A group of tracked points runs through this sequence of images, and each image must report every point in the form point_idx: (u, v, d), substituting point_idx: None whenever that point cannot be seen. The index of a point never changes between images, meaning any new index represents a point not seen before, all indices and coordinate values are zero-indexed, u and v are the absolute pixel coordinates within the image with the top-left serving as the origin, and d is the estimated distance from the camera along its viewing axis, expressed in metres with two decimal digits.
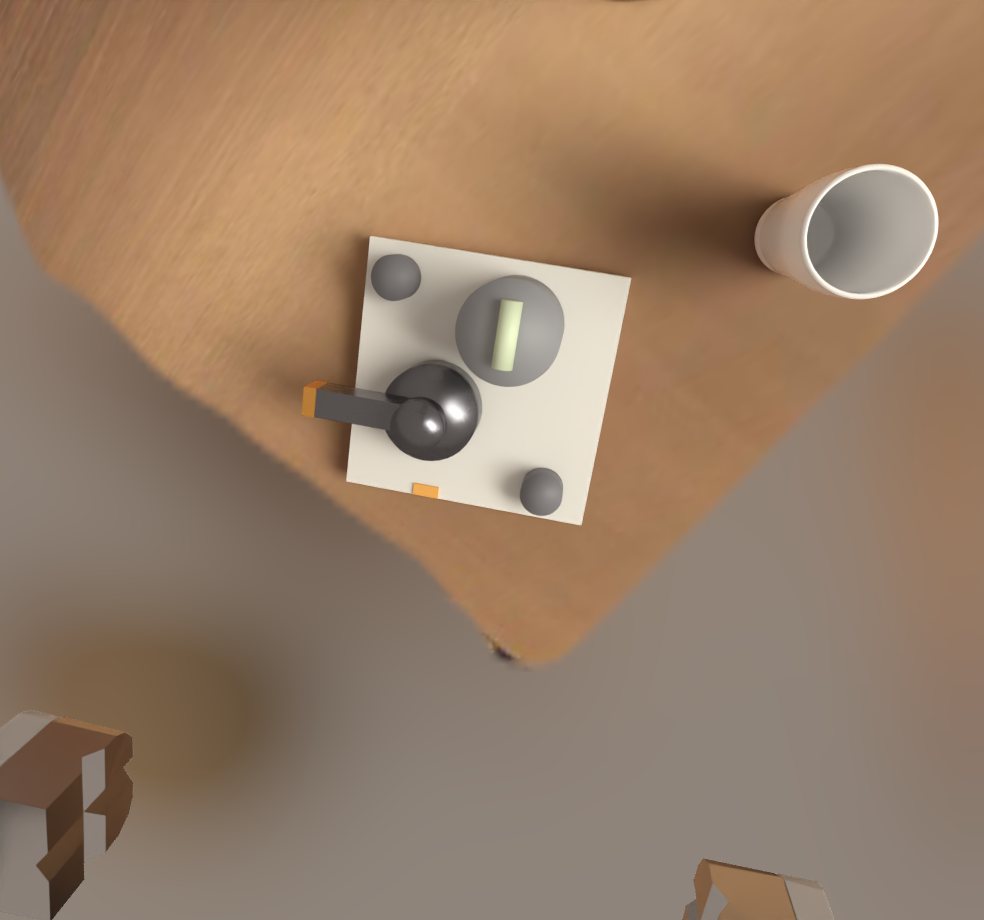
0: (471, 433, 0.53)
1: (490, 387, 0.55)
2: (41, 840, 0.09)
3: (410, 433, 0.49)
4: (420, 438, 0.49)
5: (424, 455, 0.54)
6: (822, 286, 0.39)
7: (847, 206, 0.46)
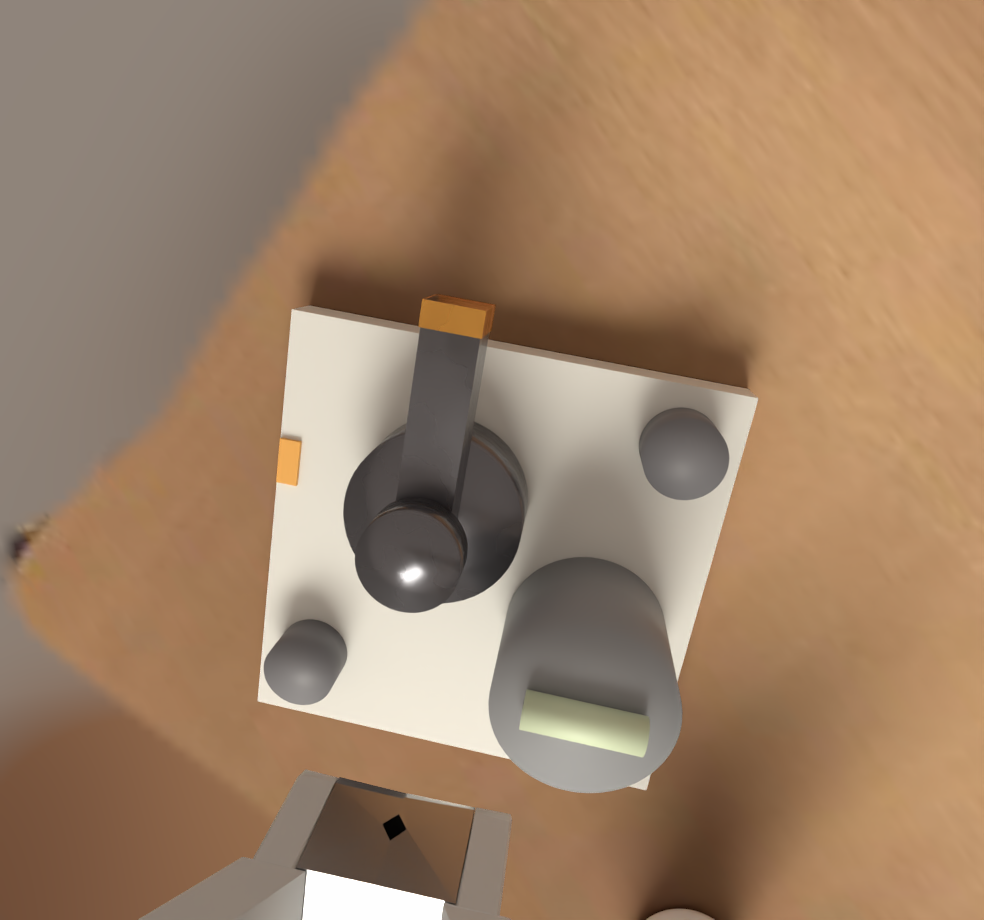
0: None
1: None
2: (364, 915, 0.09)
3: (395, 552, 0.24)
4: (385, 569, 0.25)
5: (353, 507, 0.29)
6: None
7: None
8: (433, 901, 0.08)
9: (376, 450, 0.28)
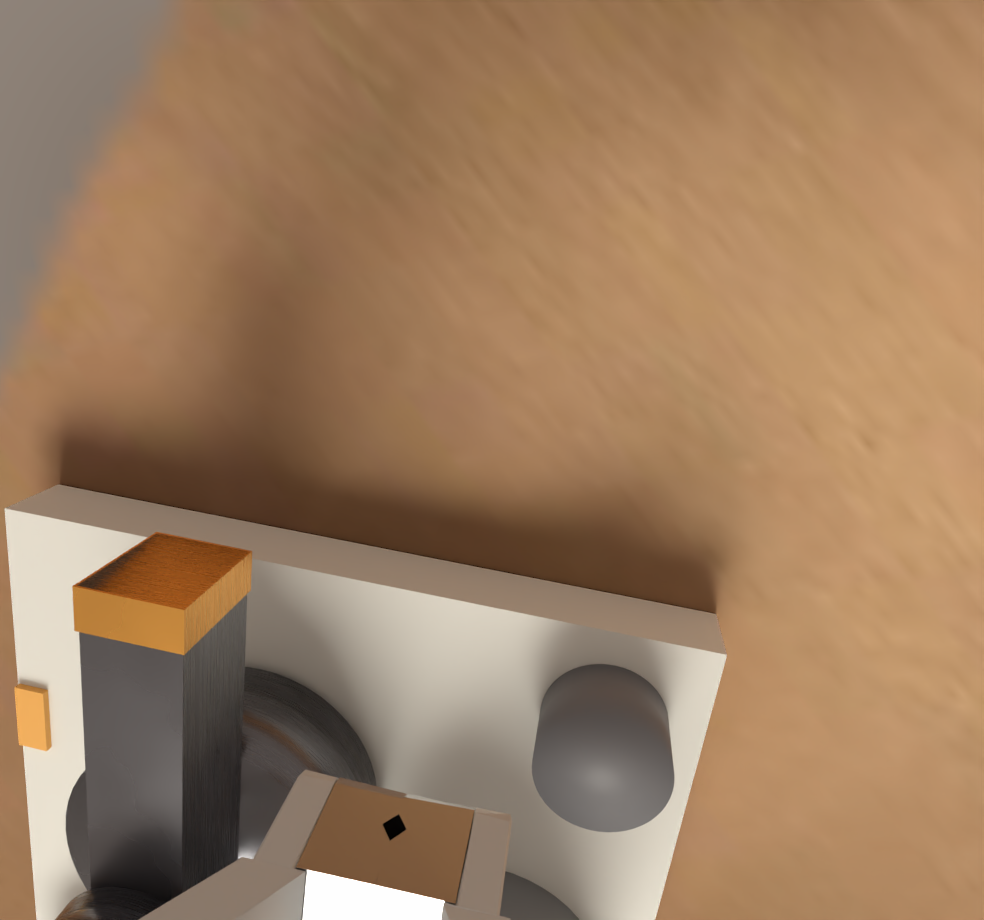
0: None
1: None
2: (364, 915, 0.09)
3: None
4: None
5: (80, 836, 0.18)
6: None
7: None
8: (433, 901, 0.08)
9: None
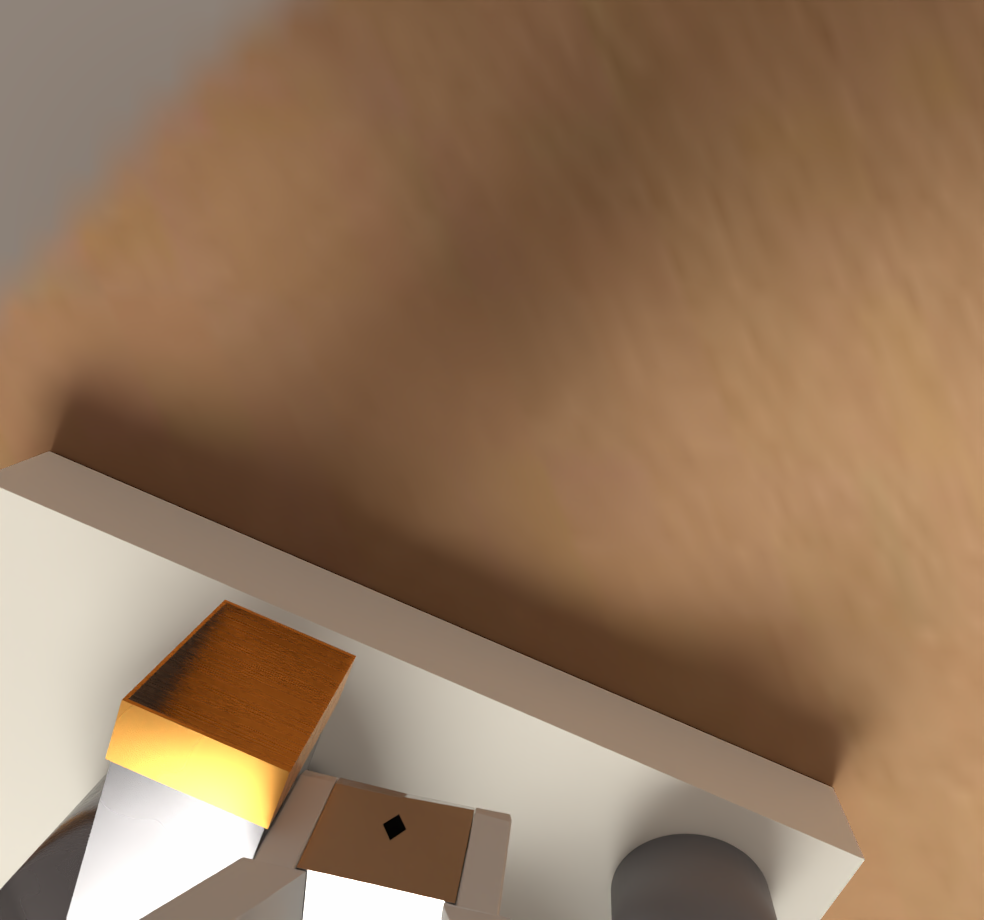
0: None
1: None
2: (365, 915, 0.09)
3: None
4: None
5: None
6: None
7: None
8: (433, 901, 0.08)
9: (55, 859, 0.13)
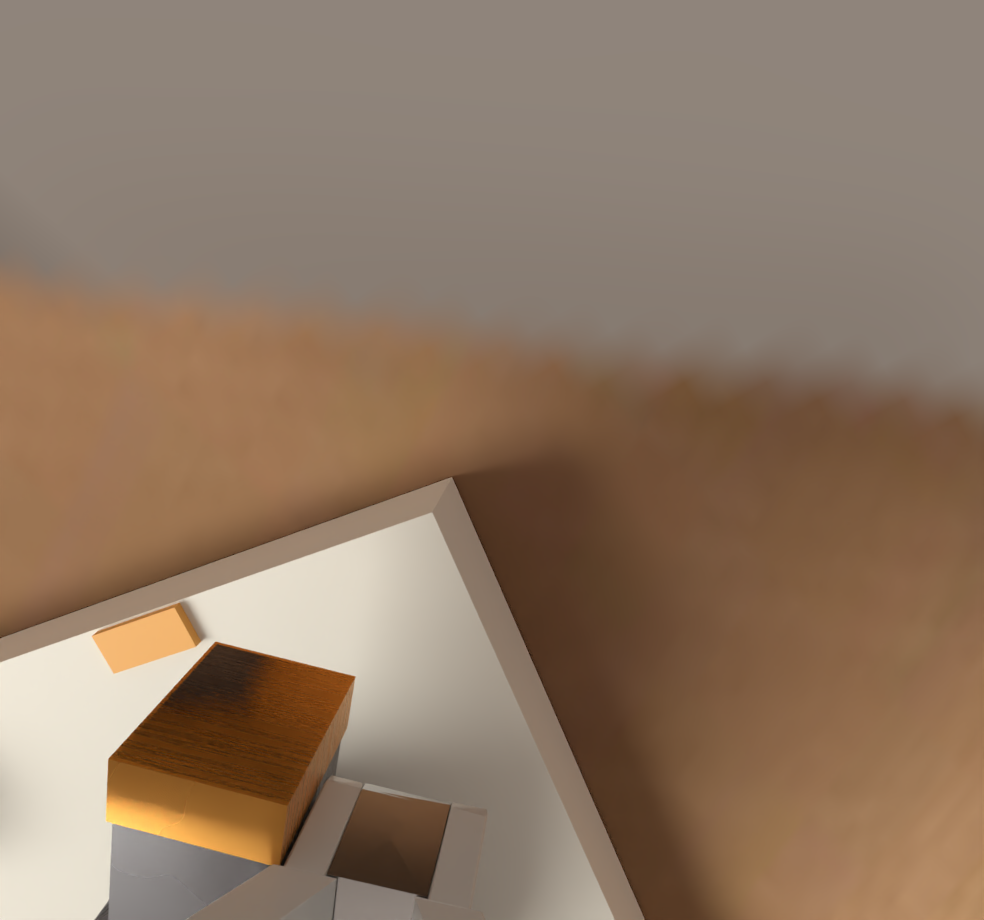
0: None
1: None
2: None
3: None
4: None
5: None
6: None
7: None
8: (405, 895, 0.08)
9: None
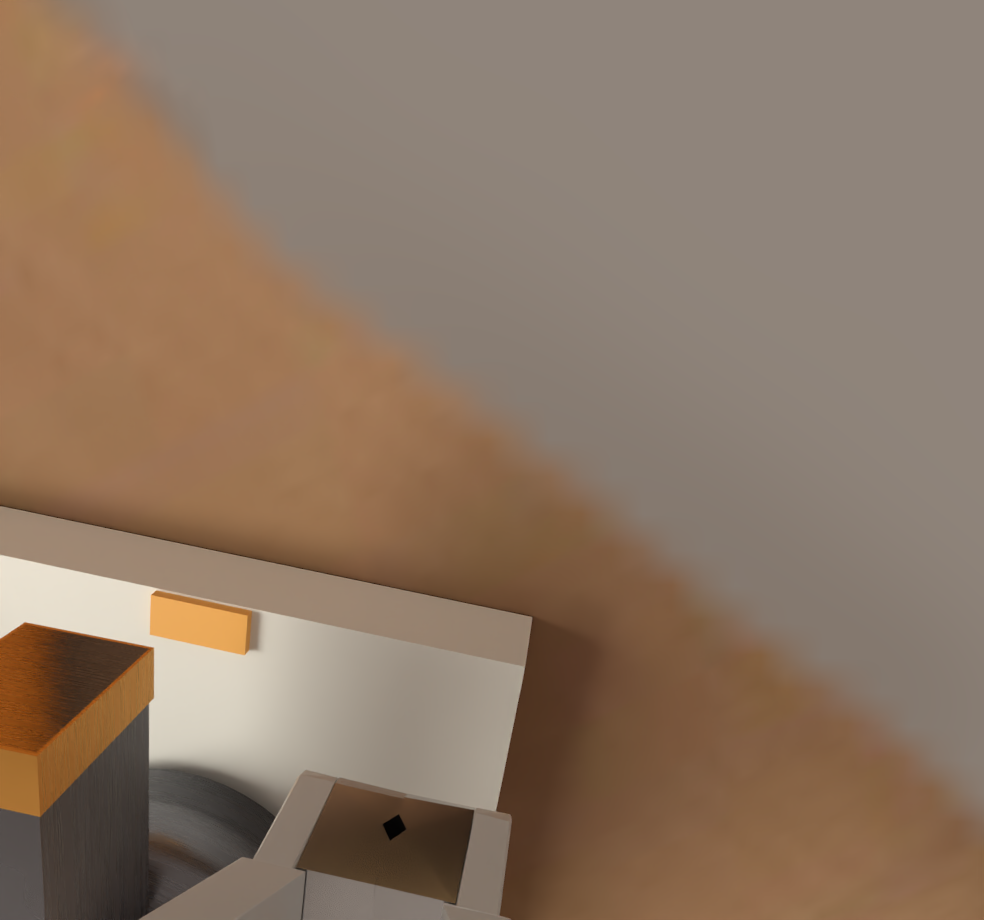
0: None
1: None
2: (364, 915, 0.09)
3: None
4: None
5: None
6: None
7: None
8: (433, 901, 0.08)
9: None
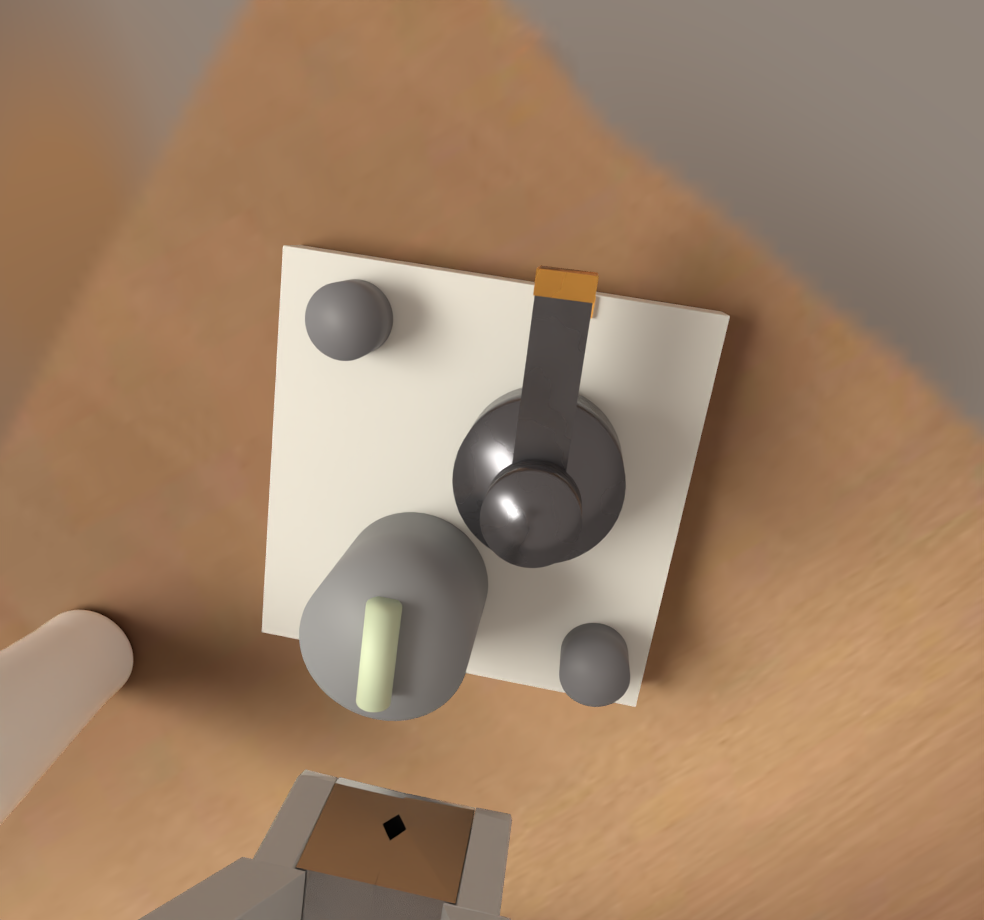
0: None
1: (452, 488, 0.34)
2: (364, 915, 0.09)
3: (518, 510, 0.26)
4: (509, 527, 0.26)
5: (462, 475, 0.30)
6: None
7: None
8: (433, 901, 0.08)
9: (484, 419, 0.29)
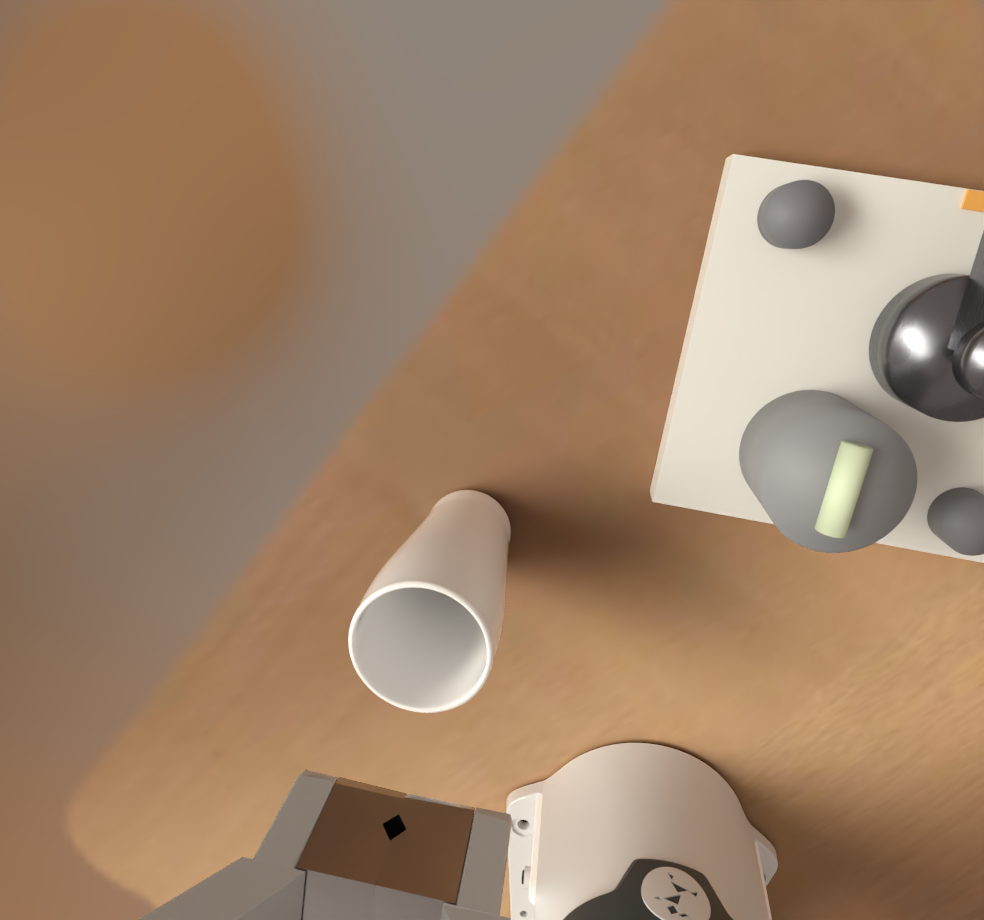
0: (930, 414, 0.36)
1: (851, 368, 0.39)
2: (364, 915, 0.09)
3: None
4: None
5: (901, 343, 0.36)
6: (461, 596, 0.32)
7: None
8: (433, 901, 0.08)
9: (930, 294, 0.35)
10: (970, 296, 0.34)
